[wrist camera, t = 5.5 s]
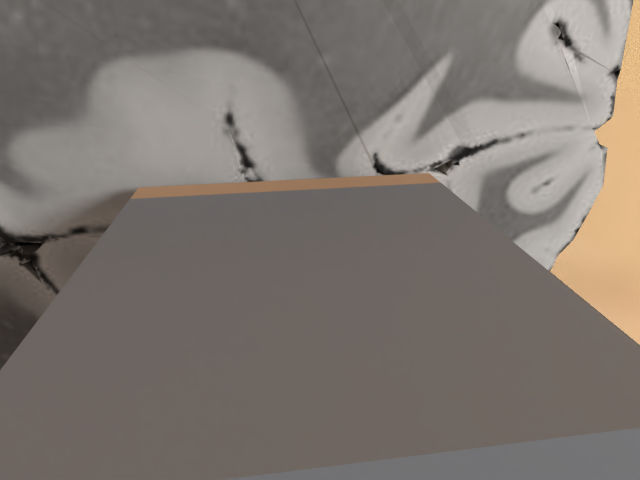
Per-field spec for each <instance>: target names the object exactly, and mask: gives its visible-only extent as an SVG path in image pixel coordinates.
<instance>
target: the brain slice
mask: <svg viewBox="0 0 640 480" xmlns="http://www.w3.org/2000/svg"><path fill="white" fill-rule="evenodd" d="M632 5H633V0H0V370H1V369H2V367H3V366H4V365H5V363H6V362H7V361H8V359H9V358H10V357H11V355H12V354H13V353H14V351H15V350H16V349H17V347H18V346H19V345H20V344H21V342H22V341H23V340H24V338H25V337H26V336H27V334H28V333H29V332H30V330H31V329H32V328H33V326H34V325H35V324H36V322H37V321H38V320H39V318H40V317H41V316H42V314H43V313H44V312H45V311H46V309H47V308H48V307H49V305H50V304H51V303H52V301H53V300H54V299H55V297H56V296H57V295H58V293H59V292H60V291H61V289H62V288H63V287H64V285H65V284H66V283H67V281H68V280H69V279H70V277H71V276H72V275H73V274H74V272H75V271H76V270H77V268H78V267H79V266H80V264H81V263H82V262H83V260H84V259H85V258H86V256H87V255H88V254H89V252H90V251H91V250H92V248H93V247H94V246H95V244H96V243H97V242H98V240H99V239H100V238H101V237H102V235H103V234H104V233H105V231H106V230H107V229H108V227H109V226H110V225H111V223H112V222H113V221H114V219H115V218H116V217H117V215H118V214H119V213H120V211H121V210H122V209H123V207H124V206H125V205H126V203H127V202H128V201H129V200H130V198H131V197H132V196H133V194H134V193H135V192H136V190H137V189H138V188H139V187H159V186H179V185H199V184H219V183H239V182H259V181H279V180H299V179H319V178H339V177H359V176H379V175H399V174H419V173H430V174H431V175H432V176H433V177H435V178H436V179H437V180H438V181H439V182H441V183H442V184H443V185H444V186H446V187H447V188H448V189H449V190H450V191H452V192H453V193H454V194H455V195H457V196H458V197H459V198H460V199H461V200H463V201H464V202H465V203H466V204H468V205H469V206H470V207H471V208H472V209H474V210H475V211H476V212H477V213H479V214H480V215H481V216H482V217H483V218H485V219H486V220H487V221H488V222H490V223H491V224H492V225H493V226H494V227H496V228H497V229H498V230H499V231H501V232H502V233H503V234H504V235H505V236H507V237H508V238H509V239H510V240H512V241H513V242H514V243H515V244H516V245H518V246H519V247H520V248H521V249H523V250H524V251H525V252H526V253H528V254H529V255H530V256H531V257H532V258H534V259H535V260H536V261H537V262H539V263H540V264H541V265H542V266H543V267H545V268H546V269H547V270H548V271H550V270H551V268H552V267H553V265H554V263H555V260H556V258H557V256H558V255H559V254H560V253H561V252H562V251H563V250H564V249H565V248H566V247H567V246H568V245H569V243H570V242H571V241H572V240H573V239H574V237H575V236H576V234H577V232H578V230H579V229H580V227H581V225H582V223H583V222H584V220H585V218H586V216H587V215H588V213H589V211H590V209H591V207H592V205H593V203H594V201H595V200H596V198H597V196H598V194H599V192H600V190H601V188H602V186H603V182H604V173H605V164H606V155H607V147H604V146H602V145H600V144H599V142H598V140H597V137H596V134H595V132H594V131H595V130H596V129H598V128H599V127H601V126H602V125H603V124H605V123H606V122H607V121H608V120H610V119H611V118H612V116H613V112H614V103H615V94H616V85H617V79H618V76H619V73H620V70H621V65H622V59H623V54H624V49H625V43H626V38H627V32H628V27H629V21H630V16H631V10H632ZM616 75H617V76H616Z"/></svg>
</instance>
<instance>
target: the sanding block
mask: <svg viewBox="0 0 640 480" xmlns="http://www.w3.org/2000/svg"><path fill="white" fill-rule="evenodd" d="M0 480H640V345H639V344H638V343H636V342H635V341H634V340H633V339H631V338H630V337H629V336H628V335H627V334H625V333H624V332H623V331H622V330H620V329H619V328H618V327H617V326H616V325H614V324H613V323H612V322H611V321H609V320H608V319H607V318H606V317H605V316H603V315H602V314H601V313H600V312H598V311H597V310H596V309H595V308H594V307H592V306H591V305H590V304H589V303H587V302H586V301H585V300H584V299H583V298H581V297H580V296H579V295H578V294H576V293H575V292H574V291H573V290H572V289H570V288H569V287H568V286H567V285H565V284H564V283H563V282H562V281H561V280H559V279H558V278H557V277H556V276H554V275H553V274H552V273H551V272H550V271H548V270H547V269H546V268H545V267H543V266H542V265H541V264H540V263H539V262H537V261H536V260H535V259H534V258H532V257H531V256H530V255H529V254H528V253H526V252H525V251H524V250H523V249H521V248H520V247H519V246H518V245H516V244H515V243H514V242H513V241H512V240H510V239H509V238H508V237H507V236H505V235H504V234H503V233H502V232H501V231H499V230H498V229H497V228H496V227H494V226H493V225H492V224H491V223H490V222H488V221H487V220H486V219H485V218H483V217H482V216H481V215H480V214H479V213H477V212H476V211H475V210H474V209H472V208H471V207H470V206H469V205H468V204H466V203H465V202H464V201H463V200H461V199H460V198H459V197H458V196H457V195H455V194H454V193H453V192H452V191H450V190H449V189H448V188H447V187H446V186H444V185H443V184H442V183H441V182H439V181H438V180H437V179H436V178H435V177H433V176H432V175H431V174H430V173H419V174H399V175H379V176H359V177H339V178H319V179H299V180H279V181H259V182H239V183H219V184H199V185H179V186H159V187H139V188H138V189H137V190H136V192H135V193H134V194H133V196H132V197H131V198H130V200H129V201H128V202H127V203H126V205H125V206H124V207H123V209H122V210H121V211H120V213H119V214H118V215H117V217H116V218H115V219H114V221H113V222H112V223H111V225H110V226H109V227H108V229H107V230H106V231H105V233H104V234H103V235H102V237H101V238H100V239H99V240H98V242H97V243H96V244H95V246H94V247H93V248H92V250H91V251H90V252H89V254H88V255H87V256H86V258H85V259H84V260H83V262H82V263H81V264H80V266H79V267H78V268H77V270H76V271H75V272H74V274H73V275H72V276H71V277H70V279H69V280H68V281H67V283H66V284H65V285H64V287H63V288H62V289H61V291H60V292H59V293H58V295H57V296H56V297H55V299H54V300H53V301H52V303H51V304H50V305H49V307H48V308H47V309H46V311H45V312H44V313H43V314H42V316H41V317H40V318H39V320H38V321H37V322H36V324H35V325H34V326H33V328H32V329H31V330H30V332H29V333H28V334H27V336H26V337H25V338H24V340H23V341H22V342H21V344H20V345H19V346H18V347H17V349H16V350H15V351H14V353H13V354H12V355H11V357H10V358H9V359H8V361H7V362H6V363H5V365H4V366H3V367H2V369H1V370H0Z"/></svg>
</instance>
